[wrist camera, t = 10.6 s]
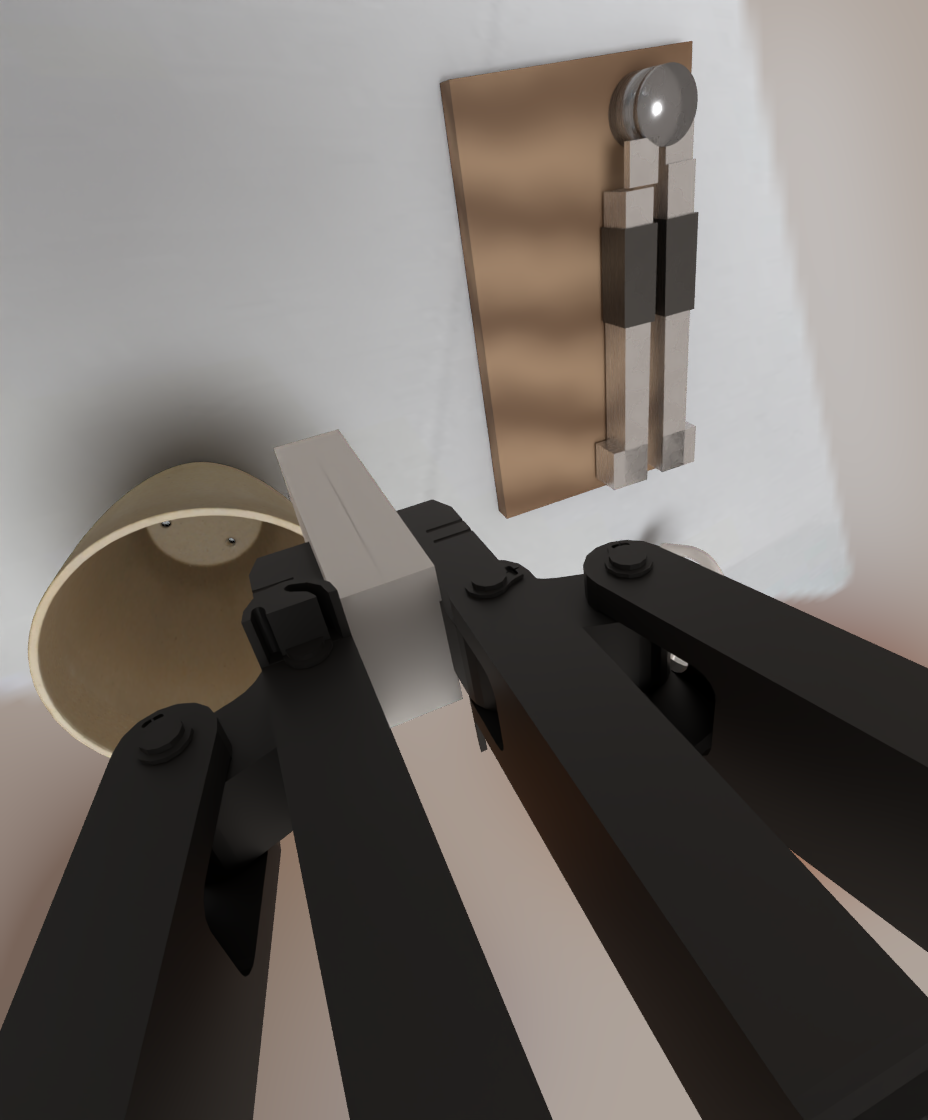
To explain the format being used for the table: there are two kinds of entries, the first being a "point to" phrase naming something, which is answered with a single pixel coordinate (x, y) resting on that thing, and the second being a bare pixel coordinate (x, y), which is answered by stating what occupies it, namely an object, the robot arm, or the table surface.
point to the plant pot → (157, 602)
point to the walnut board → (540, 259)
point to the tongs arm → (636, 271)
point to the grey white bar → (667, 283)
